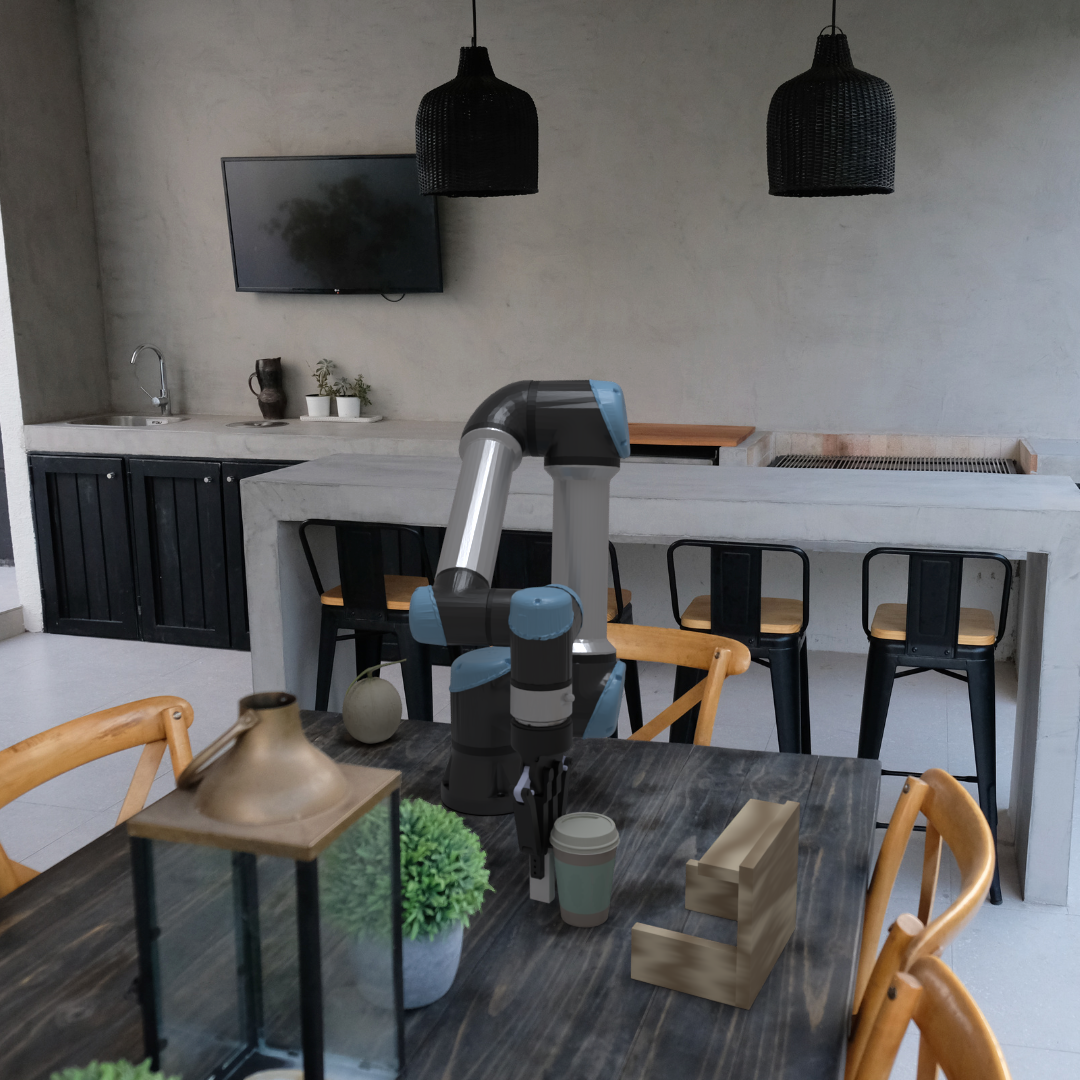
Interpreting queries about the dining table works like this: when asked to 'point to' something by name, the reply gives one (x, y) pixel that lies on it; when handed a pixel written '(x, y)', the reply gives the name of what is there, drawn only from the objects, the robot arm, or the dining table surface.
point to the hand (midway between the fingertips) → (542, 898)
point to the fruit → (372, 707)
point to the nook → (731, 910)
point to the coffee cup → (584, 866)
